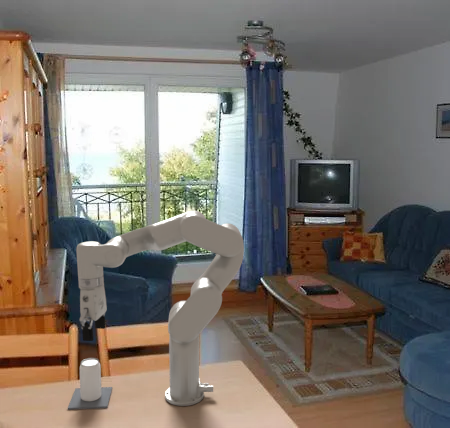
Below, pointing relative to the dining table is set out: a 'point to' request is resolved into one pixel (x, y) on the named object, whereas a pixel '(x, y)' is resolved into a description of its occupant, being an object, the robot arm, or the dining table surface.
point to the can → (90, 379)
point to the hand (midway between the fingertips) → (94, 334)
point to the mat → (100, 403)
